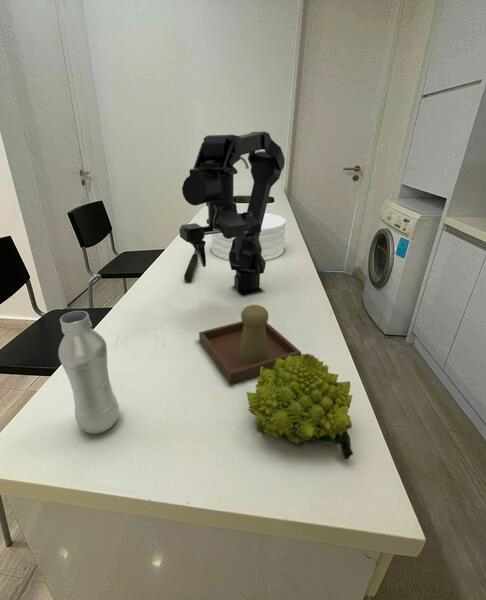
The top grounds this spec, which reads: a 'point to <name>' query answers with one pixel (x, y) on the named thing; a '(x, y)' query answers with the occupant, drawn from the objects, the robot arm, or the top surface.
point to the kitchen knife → (191, 267)
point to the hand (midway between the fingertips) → (221, 263)
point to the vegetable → (302, 402)
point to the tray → (227, 344)
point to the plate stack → (268, 238)
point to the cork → (253, 335)
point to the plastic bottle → (87, 373)
